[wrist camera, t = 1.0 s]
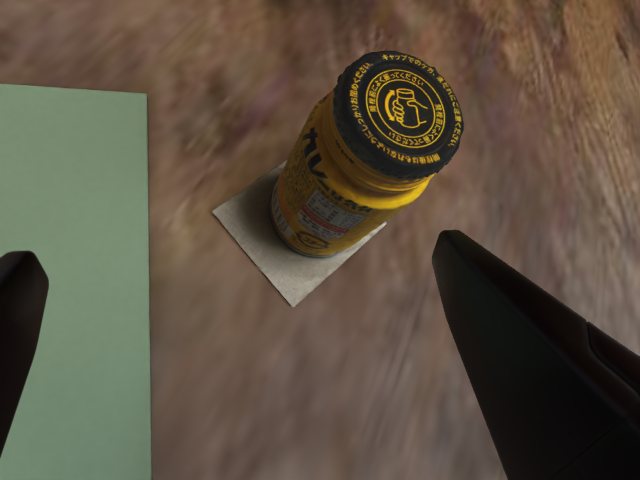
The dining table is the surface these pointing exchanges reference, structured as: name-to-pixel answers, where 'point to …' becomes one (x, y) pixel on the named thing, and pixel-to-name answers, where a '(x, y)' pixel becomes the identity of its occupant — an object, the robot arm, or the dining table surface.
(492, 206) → the dining table surface
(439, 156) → the condiment
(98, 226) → the mat
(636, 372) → the robot arm
